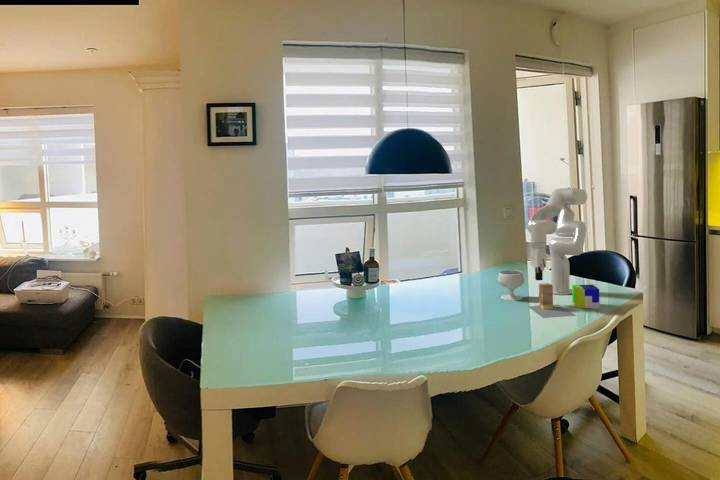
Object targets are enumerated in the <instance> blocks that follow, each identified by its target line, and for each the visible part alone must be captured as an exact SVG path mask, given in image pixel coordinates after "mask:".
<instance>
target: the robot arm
mask: <svg viewBox="0 0 720 480" xmlns="http://www.w3.org/2000/svg"><path fill="white" fill-rule="evenodd" d="M587 199H588V193H587V191H586V190H585V189H582V188H576V187H567V188H566V187H564V188H556V189H554V190H553V191H552V192H551V194H550V196H549V198H548V200H547V202H546V203H545V206H542V207H540V208H539V209H538V210H536V211H534V213H532V214H531V216H530V219H529V221H528V223H527V231H528V233H530V262H529V263H530V266H532V267H534V272H535V274H534V276H535V277H534V279H535V281H543V276H544V275H543V272H544V271H545V268H546V267H547V252H546V249H547V235H553V234H555V235H556V236H557V237H553V238H552V239H550V240H549V241H548V248H549V253H550V254H549V255H550V275H551V277H550V280H551V281H550V282H551V283H550V284H551V285H553V295H559V296H560V295H561V296H562V295H563V296H564V295H567V296H568V295H572V288H570V283H571V282H570V261H569V259H568V257H567V256H579V255H581V254H582V252H583V249H584V246H585V240H586V236H587V235H586V234H587V225H586V223H585V222H584V221H582V220H575V212H574V210H573V209H572V208H571V207H570V205H571V206H573V205H576V206H578V205H579V206H581V205H584V204H586V203H587ZM556 216H557V221H556V222H555V221H554V220H551V218H554V217H556Z"/></svg>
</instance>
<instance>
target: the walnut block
mask: <svg viewBox="0 0 720 480" xmlns="http://www.w3.org/2000/svg"><path fill="white" fill-rule="evenodd" d="M553 305H554V294H553V285H551V283H549V282H547V283H546V282H543V283H538V306H539V307H541V308H542V309H553Z"/></svg>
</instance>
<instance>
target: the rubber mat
mask: <svg viewBox="0 0 720 480" xmlns="http://www.w3.org/2000/svg"><path fill="white" fill-rule="evenodd" d="M527 308H529V309H530V310H532V312H534V313H536V314H537V315H539V316H540V317H541V318H542V319H545V318H547V319H549V318H561V317H562V318H564V317H565V318H566V317H576V316H577V315H576V314H575V313H574V312H571V311H570V310H568V309H567V308H565V307H563V306H562V305H561V304H553V309H542V308H541V307H539V305H528V306H527Z"/></svg>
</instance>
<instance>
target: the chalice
mask: <svg viewBox="0 0 720 480" xmlns="http://www.w3.org/2000/svg"><path fill="white" fill-rule="evenodd" d="M497 281H498V284H499V285H500V286H501V287H503V288H506V289H507V290H508V291H509V294H505V295H501V296H500V298H499V299H501V300H506V301H519V300H523V296H521V295H517V294H514V291H515V289H517V288H519V287H521V286H522V285H524V283H525V276H524V274H523V272H522V271H520V270H515V269H512V270H511V269H509V270H508V269H507V270H502V271H500V272H499V273H498V277H497Z"/></svg>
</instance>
